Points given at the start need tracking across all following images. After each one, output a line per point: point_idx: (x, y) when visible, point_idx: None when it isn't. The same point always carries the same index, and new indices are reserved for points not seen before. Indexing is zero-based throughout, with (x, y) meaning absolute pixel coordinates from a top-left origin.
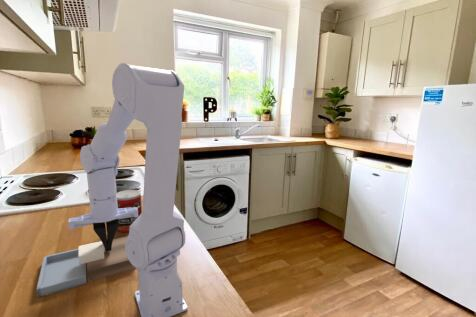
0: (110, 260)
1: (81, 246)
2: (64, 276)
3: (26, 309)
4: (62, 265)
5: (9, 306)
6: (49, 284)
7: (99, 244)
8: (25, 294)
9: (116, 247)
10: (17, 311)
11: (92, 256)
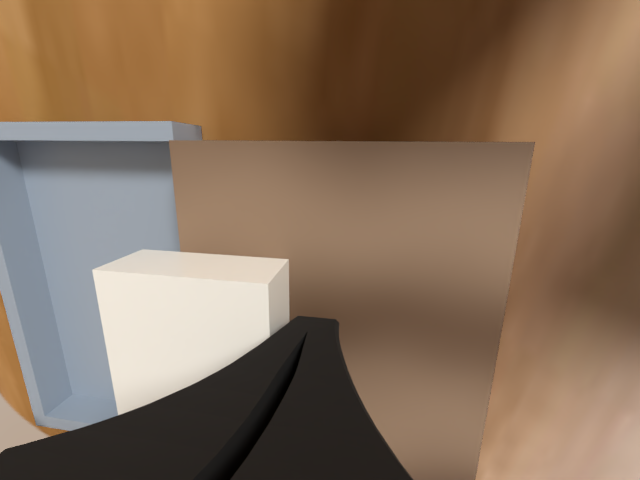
0: None
1: (114, 287)
2: None
3: (59, 432)
4: (98, 223)
5: (4, 387)
6: (84, 355)
7: (245, 336)
8: None
9: (384, 305)
10: (37, 426)
11: None
